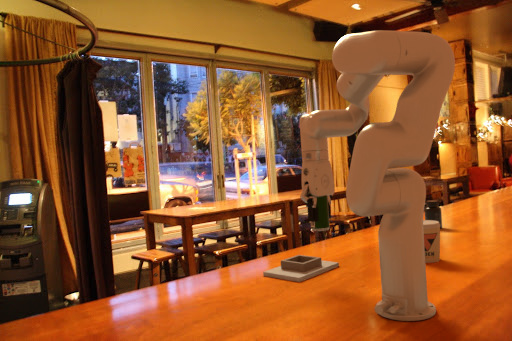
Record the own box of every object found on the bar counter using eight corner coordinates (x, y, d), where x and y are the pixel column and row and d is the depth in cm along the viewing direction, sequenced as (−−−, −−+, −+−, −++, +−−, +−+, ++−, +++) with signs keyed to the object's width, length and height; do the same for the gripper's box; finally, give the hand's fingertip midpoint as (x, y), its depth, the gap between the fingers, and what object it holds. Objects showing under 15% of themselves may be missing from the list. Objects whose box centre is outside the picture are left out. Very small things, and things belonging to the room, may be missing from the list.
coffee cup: (408, 262, 141) (406, 224, 141) (413, 256, 150) (411, 219, 149) (440, 264, 137) (438, 224, 137) (443, 257, 145) (441, 219, 145)
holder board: (299, 282, 129) (298, 269, 129) (263, 275, 139) (262, 263, 138) (338, 266, 143) (337, 254, 143) (303, 261, 153) (303, 250, 153)
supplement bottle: (422, 228, 198) (420, 201, 197) (433, 226, 200) (431, 199, 200) (434, 230, 191) (432, 202, 191) (446, 228, 194) (444, 200, 194)
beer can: (319, 231, 127) (316, 189, 126) (307, 230, 131) (304, 189, 131) (333, 229, 130) (330, 187, 129) (321, 227, 134) (318, 187, 134)
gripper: (307, 157, 121) (312, 225, 122) (342, 155, 133) (347, 216, 134) (286, 159, 126) (290, 223, 127) (322, 156, 139) (326, 215, 139)
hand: (319, 219), depth 130 cm, fingers closed on beer can, 5 cm apart
